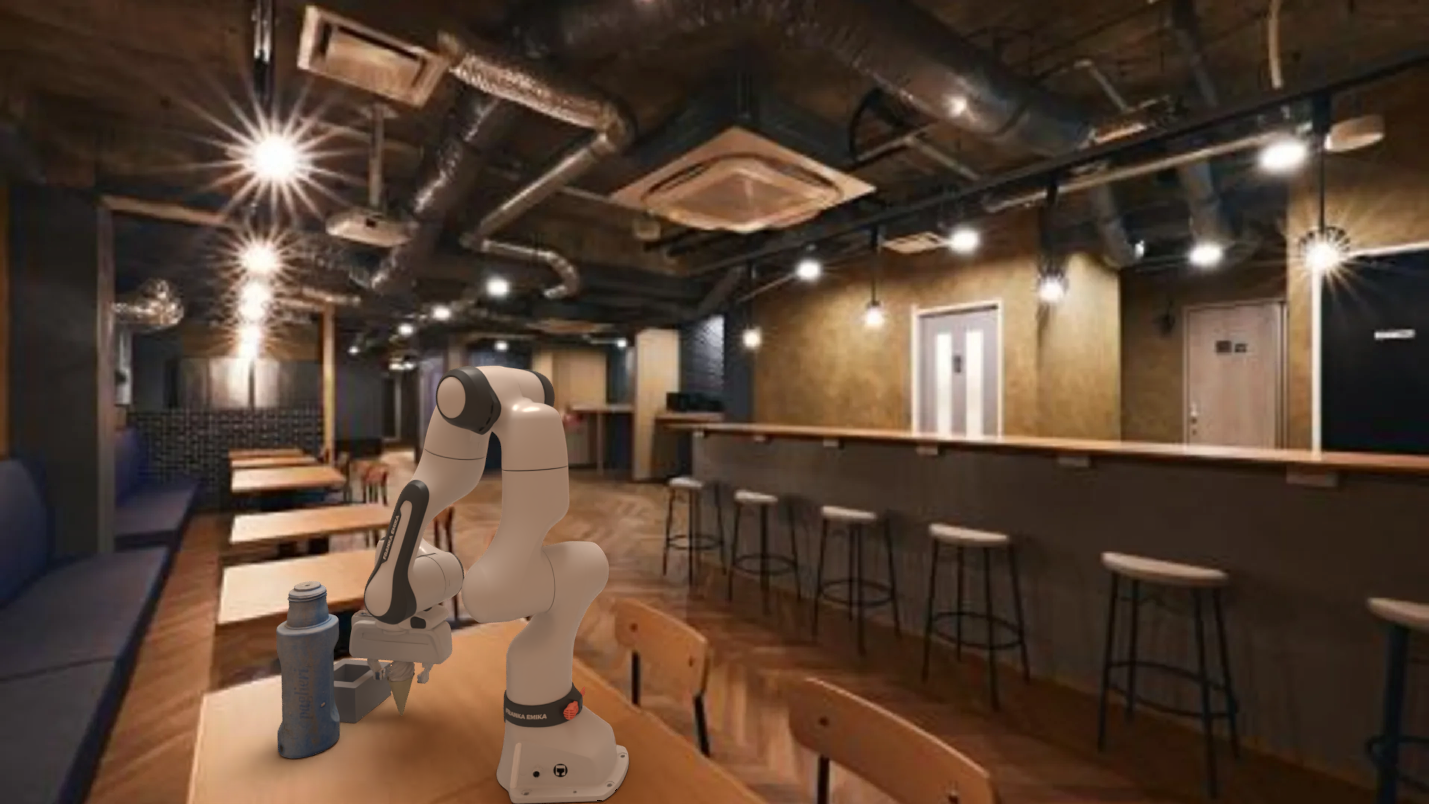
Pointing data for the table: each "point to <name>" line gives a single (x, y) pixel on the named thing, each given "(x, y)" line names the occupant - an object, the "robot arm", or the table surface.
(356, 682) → the box
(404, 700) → the ice cream cone
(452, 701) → the table surface
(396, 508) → the robot arm
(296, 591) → the bottle
